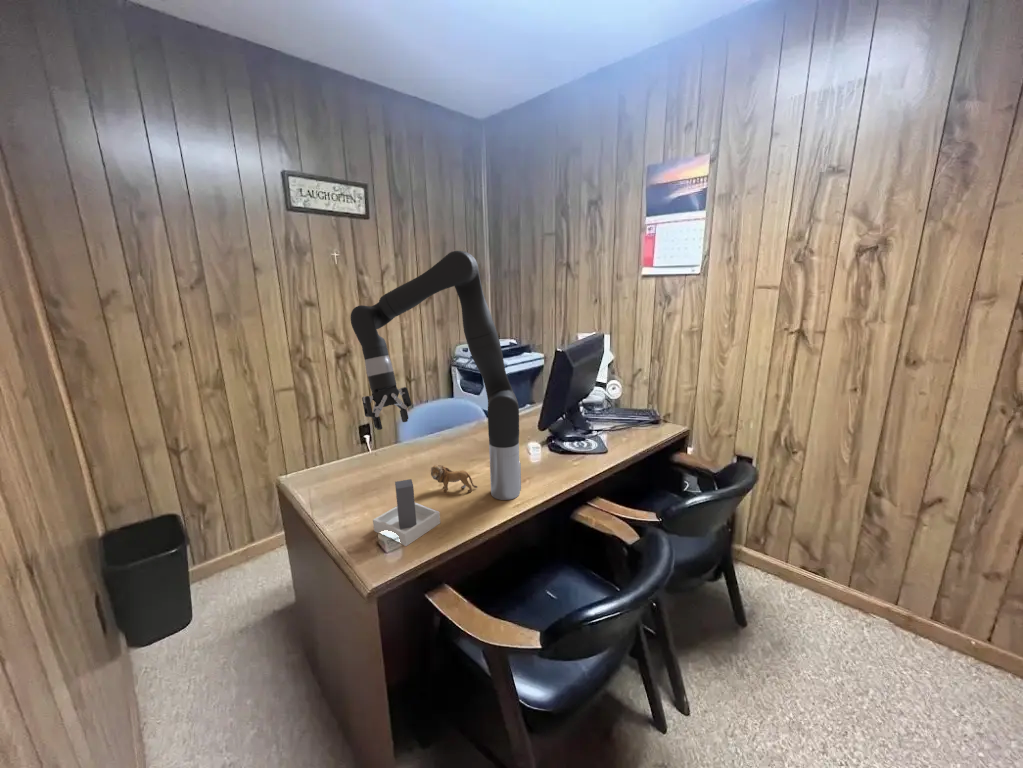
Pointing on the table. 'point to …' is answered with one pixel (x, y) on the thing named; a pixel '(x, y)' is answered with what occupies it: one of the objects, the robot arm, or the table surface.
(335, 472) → the table surface
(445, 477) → the lion figurine
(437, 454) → the table surface
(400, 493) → the handle block
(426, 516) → the tray
